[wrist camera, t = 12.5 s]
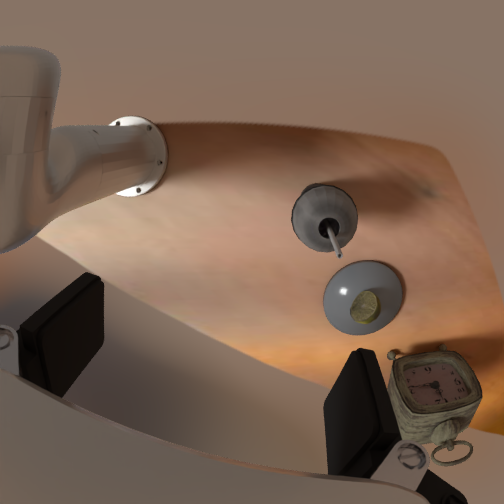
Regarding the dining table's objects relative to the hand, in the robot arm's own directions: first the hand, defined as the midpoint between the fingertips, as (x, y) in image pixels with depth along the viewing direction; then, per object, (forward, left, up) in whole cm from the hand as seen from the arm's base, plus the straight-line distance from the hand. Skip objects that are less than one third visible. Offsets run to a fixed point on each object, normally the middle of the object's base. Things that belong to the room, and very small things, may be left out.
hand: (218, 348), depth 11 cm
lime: (+18, -13, -35) cm, 42 cm away
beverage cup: (+6, 0, -36) cm, 37 cm away
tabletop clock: (+34, -23, -36) cm, 54 cm away
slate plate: (+18, -13, -36) cm, 42 cm away
